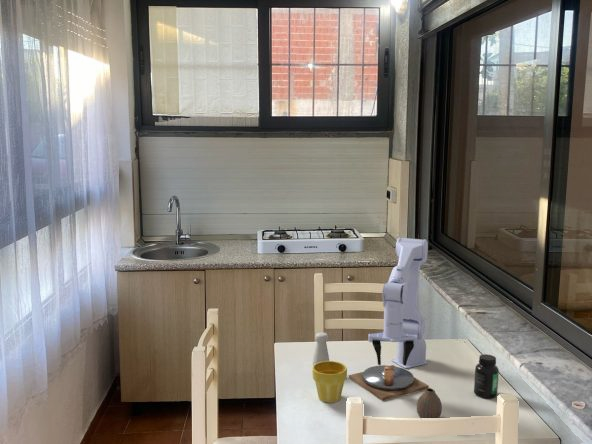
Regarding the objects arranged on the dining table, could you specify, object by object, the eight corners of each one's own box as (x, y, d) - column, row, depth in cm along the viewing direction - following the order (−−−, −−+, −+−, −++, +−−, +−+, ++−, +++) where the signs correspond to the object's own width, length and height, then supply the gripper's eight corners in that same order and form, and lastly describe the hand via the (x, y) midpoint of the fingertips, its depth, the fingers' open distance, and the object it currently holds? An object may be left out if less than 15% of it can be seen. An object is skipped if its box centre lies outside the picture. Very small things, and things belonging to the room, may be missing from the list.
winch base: (393, 367, 203) (393, 364, 202) (428, 388, 187) (428, 385, 187) (348, 378, 194) (348, 375, 194) (382, 400, 179) (382, 397, 178)
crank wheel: (363, 367, 199) (363, 348, 198) (412, 370, 197) (413, 351, 196) (362, 388, 184) (362, 368, 182) (415, 392, 182) (416, 371, 180)
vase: (413, 413, 171) (414, 384, 170) (436, 412, 172) (438, 384, 170) (420, 425, 164) (421, 395, 163) (444, 424, 165) (446, 395, 163)
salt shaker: (328, 375, 196) (329, 337, 194) (311, 373, 197) (311, 336, 195) (330, 368, 202) (331, 331, 200) (314, 366, 203) (314, 329, 201)
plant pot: (304, 396, 181) (305, 366, 179) (329, 387, 187) (329, 357, 186) (329, 409, 173) (329, 377, 171) (353, 398, 180) (354, 368, 178)
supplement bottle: (500, 399, 180) (502, 361, 178) (477, 399, 180) (479, 361, 178) (492, 389, 187) (495, 353, 185) (470, 389, 187) (473, 352, 185)
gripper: (370, 325, 177) (369, 368, 179) (419, 326, 176) (417, 369, 179) (368, 317, 184) (367, 359, 186) (415, 318, 183) (413, 360, 186)
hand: (391, 364), depth 183 cm, fingers open, 7 cm apart
